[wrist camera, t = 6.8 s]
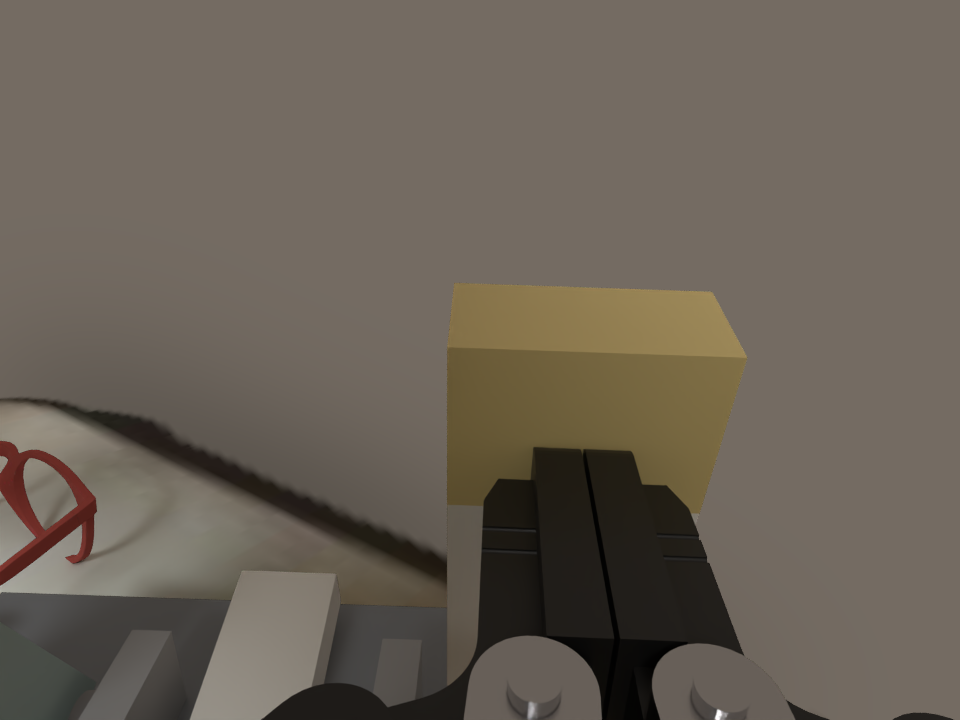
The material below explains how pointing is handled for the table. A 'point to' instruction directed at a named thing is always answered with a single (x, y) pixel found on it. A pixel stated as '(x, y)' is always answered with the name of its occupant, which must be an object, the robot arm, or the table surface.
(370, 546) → the table surface
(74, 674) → the teal lever
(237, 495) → the table surface
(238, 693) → the console
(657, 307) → the white and yellow lever
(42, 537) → the red eyeglasses
